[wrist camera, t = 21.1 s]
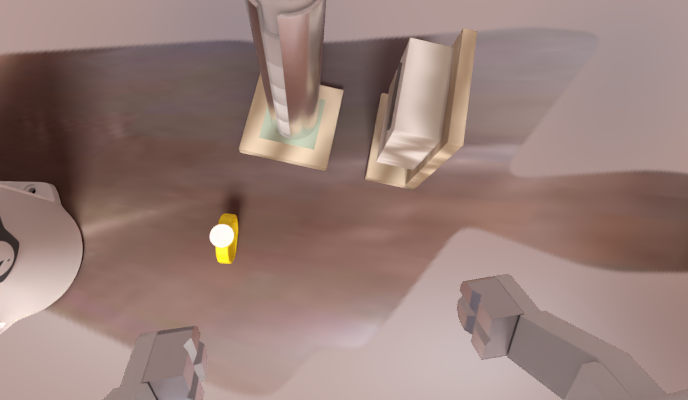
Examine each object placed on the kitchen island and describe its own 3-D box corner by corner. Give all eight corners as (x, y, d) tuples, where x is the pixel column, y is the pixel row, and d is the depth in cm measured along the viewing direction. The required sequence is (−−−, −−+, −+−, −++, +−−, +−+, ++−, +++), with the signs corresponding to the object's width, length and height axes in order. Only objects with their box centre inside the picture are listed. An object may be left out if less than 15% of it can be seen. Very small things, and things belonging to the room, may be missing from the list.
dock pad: (240, 152, 51) (238, 148, 50) (261, 75, 54) (260, 70, 52) (326, 170, 51) (326, 168, 50) (342, 94, 54) (343, 89, 53)
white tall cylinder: (261, 112, 51) (220, -44, 27) (299, 88, 52) (293, -81, 28) (289, 149, 50) (273, 21, 26) (327, 123, 52) (345, -20, 27)
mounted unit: (364, 179, 52) (392, 129, 35) (380, 96, 55) (412, 15, 38) (416, 190, 52) (466, 146, 36) (428, 107, 55) (480, 32, 39)
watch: (241, 263, 48) (231, 264, 42) (218, 262, 48) (206, 263, 42) (245, 217, 49) (236, 211, 43) (223, 216, 49) (211, 210, 43)
